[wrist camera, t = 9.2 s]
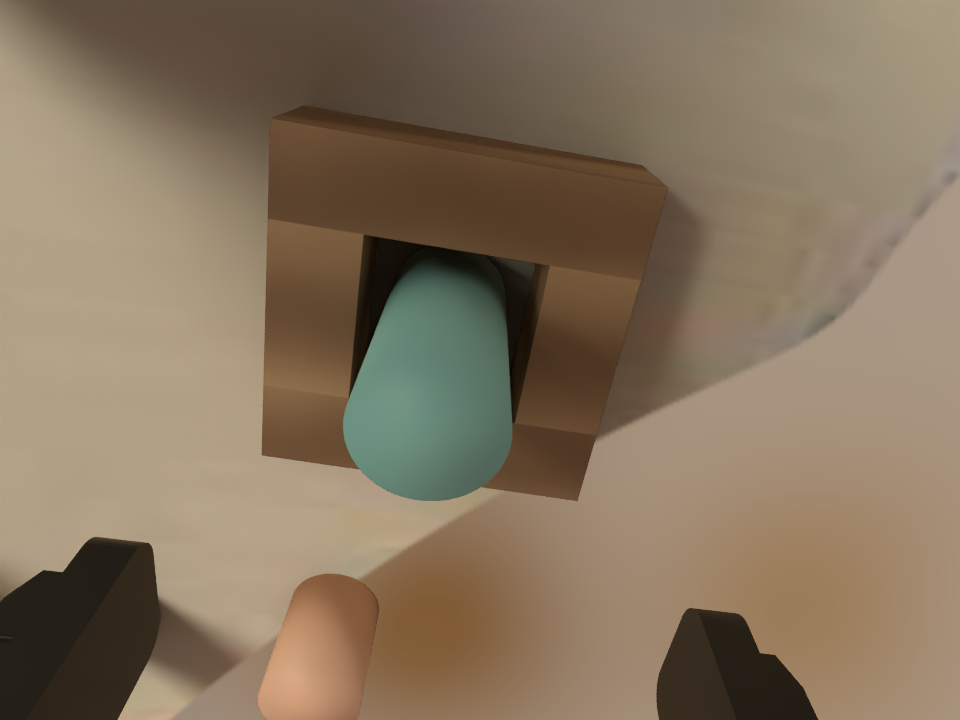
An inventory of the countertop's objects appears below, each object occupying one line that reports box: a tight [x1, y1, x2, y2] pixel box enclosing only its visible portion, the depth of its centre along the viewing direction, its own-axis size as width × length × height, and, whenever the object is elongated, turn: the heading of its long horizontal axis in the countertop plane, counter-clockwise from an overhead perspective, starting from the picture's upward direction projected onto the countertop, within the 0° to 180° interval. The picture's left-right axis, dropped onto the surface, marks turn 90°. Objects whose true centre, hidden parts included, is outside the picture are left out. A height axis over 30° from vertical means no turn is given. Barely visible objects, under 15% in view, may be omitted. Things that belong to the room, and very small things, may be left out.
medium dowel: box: [343, 246, 512, 501], centre depth 20 cm, size 4×4×9 cm
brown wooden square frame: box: [262, 106, 668, 501], centre depth 22 cm, size 11×11×4 cm
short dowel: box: [258, 574, 379, 720], centre depth 28 cm, size 4×4×5 cm
